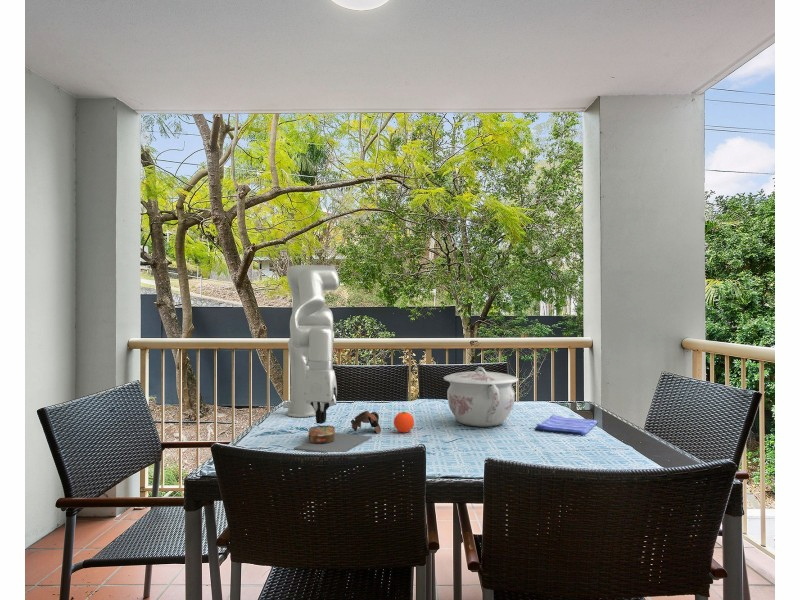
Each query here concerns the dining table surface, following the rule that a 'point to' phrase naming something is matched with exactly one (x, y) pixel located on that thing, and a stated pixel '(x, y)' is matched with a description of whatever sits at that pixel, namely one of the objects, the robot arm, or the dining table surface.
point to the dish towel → (566, 425)
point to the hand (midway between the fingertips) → (320, 422)
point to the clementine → (403, 422)
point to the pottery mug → (366, 420)
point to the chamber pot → (481, 397)
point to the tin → (321, 434)
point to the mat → (335, 443)
